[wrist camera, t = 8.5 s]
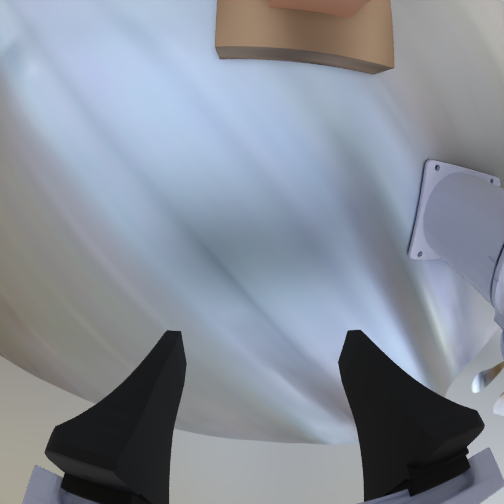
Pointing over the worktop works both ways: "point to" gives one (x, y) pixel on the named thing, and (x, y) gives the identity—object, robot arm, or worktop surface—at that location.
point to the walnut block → (306, 35)
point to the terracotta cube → (322, 6)
